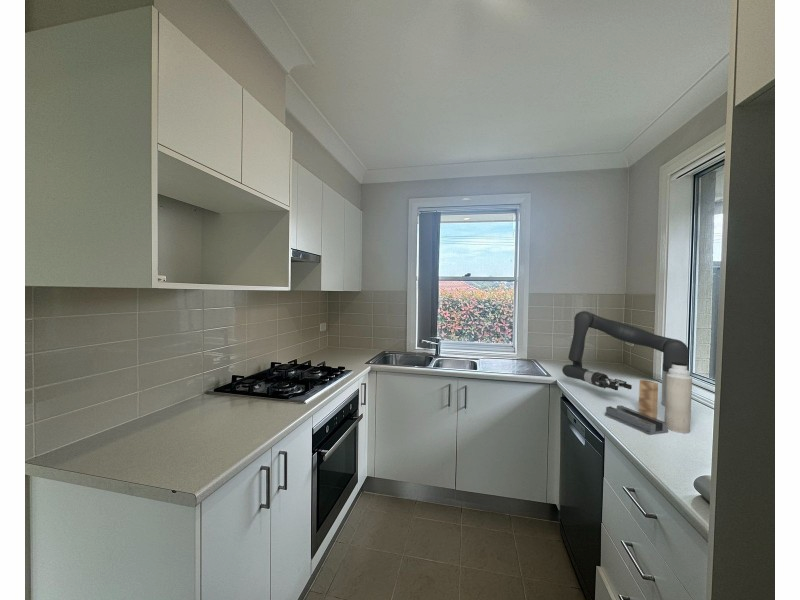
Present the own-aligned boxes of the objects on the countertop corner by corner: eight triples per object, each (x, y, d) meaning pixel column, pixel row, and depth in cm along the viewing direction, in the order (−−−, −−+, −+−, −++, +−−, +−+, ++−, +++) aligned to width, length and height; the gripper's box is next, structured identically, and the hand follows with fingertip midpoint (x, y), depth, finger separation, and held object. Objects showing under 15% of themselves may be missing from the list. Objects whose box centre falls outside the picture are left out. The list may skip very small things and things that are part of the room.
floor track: (604, 415, 144) (604, 406, 144) (621, 413, 146) (621, 405, 146) (649, 435, 124) (649, 425, 124) (668, 432, 127) (668, 422, 127)
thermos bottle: (687, 427, 132) (689, 361, 131) (692, 435, 125) (695, 365, 124) (662, 423, 136) (665, 359, 135) (666, 430, 129) (668, 362, 128)
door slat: (638, 414, 146) (639, 380, 145) (643, 413, 147) (644, 379, 146) (651, 419, 140) (653, 383, 140) (656, 418, 141) (658, 383, 140)
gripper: (585, 372, 168) (613, 381, 152) (606, 371, 171) (635, 379, 156) (585, 386, 168) (612, 396, 152) (606, 384, 172) (635, 394, 156)
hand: (624, 387), depth 154 cm, fingers open, 8 cm apart
